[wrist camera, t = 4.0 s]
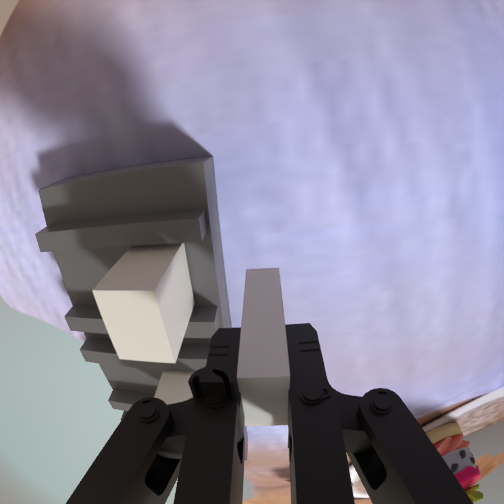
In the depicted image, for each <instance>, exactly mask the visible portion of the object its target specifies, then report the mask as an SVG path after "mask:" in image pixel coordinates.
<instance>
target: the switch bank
mask: <svg viewBox="0 0 504 504" xmlns="http://www.w3.org/2000/svg"><path fill="white" fill-rule="evenodd" d="M39 194H40V198H41V203H42V208H43V212H44V216H45V220H46V224H47V227H45V228H44V229H42V230H41V231H39V232H37V233H36V238H37V241H38V245H39V248H40V252H47V251H54V253H55V256H56V260H57V263H58V266H59V269H60V272H61V275H62V278H63V281H64V283H65V286H66V289H67V292H68V294H69V297H70V300H71V302H72V305H73V307H72V308H71V309H70V310H69V312H68V313H67V314H66V315H65V316H64V317H65V319H66V321H67V323H68V326H69V328H70V330H72V331H81V332H84V333H85V335H86V338H87V339H86V341H85V342H84V344H83V346H82V347H81V349H80V351H81V353H82V355H83V357H84V359H85V361H87V362H94V363H99V364H100V366H101V368H102V370H103V372H104V374H105V376H106V378H107V380H108V382H109V383H110V385H111V387H112V389H113V391H112V394H111V396H110V398H109V400H108V401H109V402H110V404H111V406H112V407H113V409H118V410H124V413H123V415H122V418H121V421H122V419H123V418H124V416H125V415H126V413H127V412H128V410H129V409H130V408H131V406H132V405H133V404H134V403H135V402H137V401H139V400H141V399H143V398H148V397H154V396H155V393H156V390H157V387H158V384H159V381H160V378H161V375H162V372H163V370H173V371H194V372H195V371H197V370H198V369H201V368H203V367H206V363H207V358H208V353H209V348H210V343H211V338H212V336H213V335H214V333H215V332H216V331H217V330H218V328H232V326H231V318H230V311H229V303H228V295H227V286H226V278H225V269H224V261H223V252H222V243H221V234H220V224H219V215H218V205H217V195H216V184H215V173H214V162H213V156H209V157H199V158H190V159H181V160H172V161H164V162H157V163H150V164H143V165H136V166H130V167H124V168H118V169H112V170H107V171H102V172H96V173H91V174H86V175H81V176H77V177H72V178H68V179H64V180H61V181H59V182H56V183H54V184H51V185H49V186H47V187H44V188H42V189H40V190H39ZM176 243H184V246H185V252H186V258H187V264H188V270H189V275H190V281H191V286H192V292H193V297H194V302H195V304H194V307H193V310H192V313H191V316H190V319H189V322H188V325H187V329H186V332H185V335H184V338H183V341H182V344H181V347H180V350H179V354H178V357H177V360H176V363H161V362H147V361H135V360H125V359H119V357H118V355H117V352H116V350H115V348H114V346H113V343H112V341H111V338H110V336H109V334H108V331H107V329H106V326H105V324H104V321H103V319H102V316H101V313H100V311H99V308H98V305H97V302H96V300H95V297H94V294H93V291H92V290H93V289H94V288H95V287H96V285H97V284H98V283H99V282H100V281H101V280H102V278H103V277H104V276H105V275H106V274H107V273H108V272H109V270H110V269H111V268H112V267H113V266H114V265H115V264H116V263H117V261H118V260H119V259H120V258H121V257H122V256H123V255H124V254H125V253H126V251H127V250H128V249H129V248H130V247H131V246H141V245H158V244H176ZM244 436H245V455H244V460H247V452H248V435H247V429H246V426H245V423H244Z"/></svg>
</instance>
